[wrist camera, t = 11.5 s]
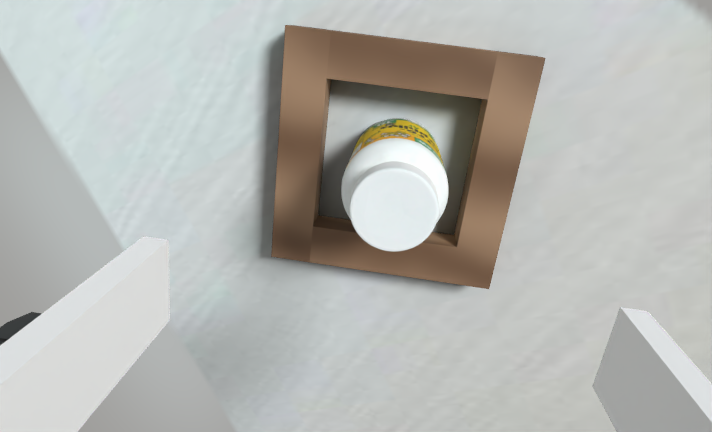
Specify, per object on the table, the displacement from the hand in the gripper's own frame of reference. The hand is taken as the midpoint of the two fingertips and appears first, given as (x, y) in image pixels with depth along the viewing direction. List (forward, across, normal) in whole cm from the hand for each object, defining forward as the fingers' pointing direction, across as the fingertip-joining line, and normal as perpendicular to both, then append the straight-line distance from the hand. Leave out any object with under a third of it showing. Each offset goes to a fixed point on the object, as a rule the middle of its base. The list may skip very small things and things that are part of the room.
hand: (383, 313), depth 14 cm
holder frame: (+18, 0, 0) cm, 18 cm away
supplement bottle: (+18, 0, 0) cm, 18 cm away
